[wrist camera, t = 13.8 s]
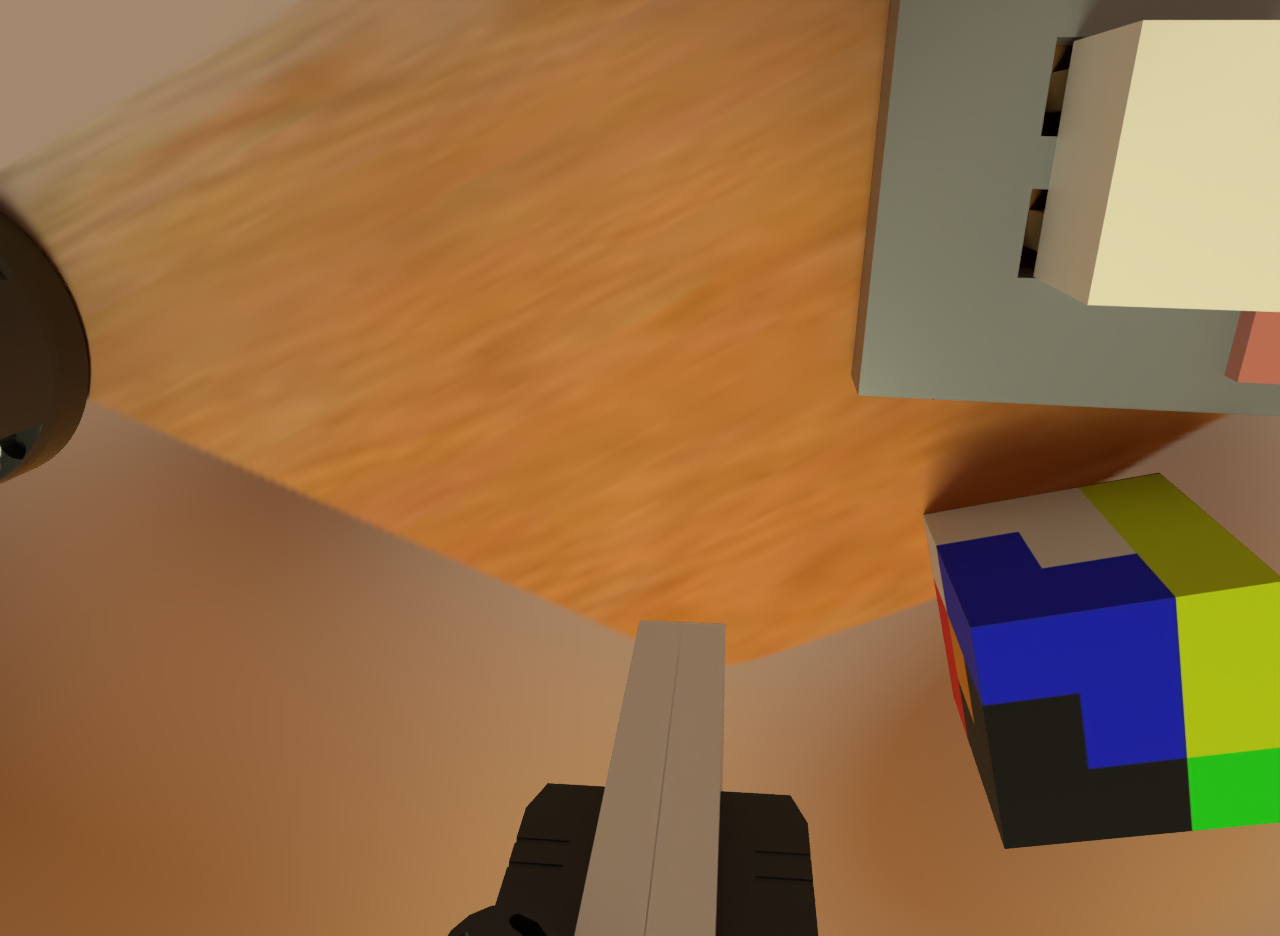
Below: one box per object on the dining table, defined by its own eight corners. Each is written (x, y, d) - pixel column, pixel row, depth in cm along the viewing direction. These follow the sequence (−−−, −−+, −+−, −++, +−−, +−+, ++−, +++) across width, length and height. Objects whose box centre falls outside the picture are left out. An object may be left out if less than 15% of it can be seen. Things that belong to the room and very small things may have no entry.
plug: (1012, 265, 36) (1087, 305, 27) (1048, 48, 33) (1143, 20, 25) (1168, 270, 35) (1294, 312, 27) (1218, 49, 32) (1376, 20, 24)
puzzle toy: (923, 514, 40) (970, 627, 31) (1158, 472, 38) (1285, 580, 29) (953, 696, 43) (1004, 848, 34) (1173, 667, 41) (1291, 821, 32)
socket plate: (851, 376, 38) (860, 402, 35) (900, -105, 32) (918, -136, 28) (1296, 397, 36) (1357, 427, 32) (1446, -114, 30) (1543, -150, 26)
